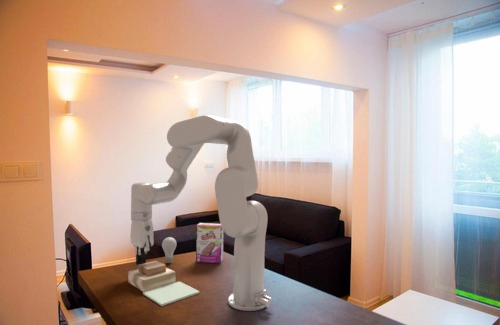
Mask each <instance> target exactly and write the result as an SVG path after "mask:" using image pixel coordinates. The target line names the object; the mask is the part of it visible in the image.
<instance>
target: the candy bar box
mask: <svg viewBox="0 0 500 325" xmlns="http://www.w3.org/2000/svg"><path fill="white" fill-rule="evenodd" d="M224 233H225V232H224V230H223V229H222V226H221V223H210V222H209V223H208V222H198V223H197V224H196V241H195V242H196V244H195V245H196V246H195V247H196V249H195V252H196V253H195V263H201V264H202V263H203V264H206V263H207V264H222V262H223V261H224Z"/></svg>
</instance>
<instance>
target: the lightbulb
mask: <svg viewBox="0 0 500 325" xmlns="http://www.w3.org/2000/svg"><path fill="white" fill-rule="evenodd" d="M161 247H162V249H163V252H164V255H165V256H164V257H165V263H167V264H171V263H172V262H173V256H174V252H175V250H176V248H177V240H176V239H175V238H174V237H171V236H169V237H166V238H164V239H163V240H162V242H161Z"/></svg>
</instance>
